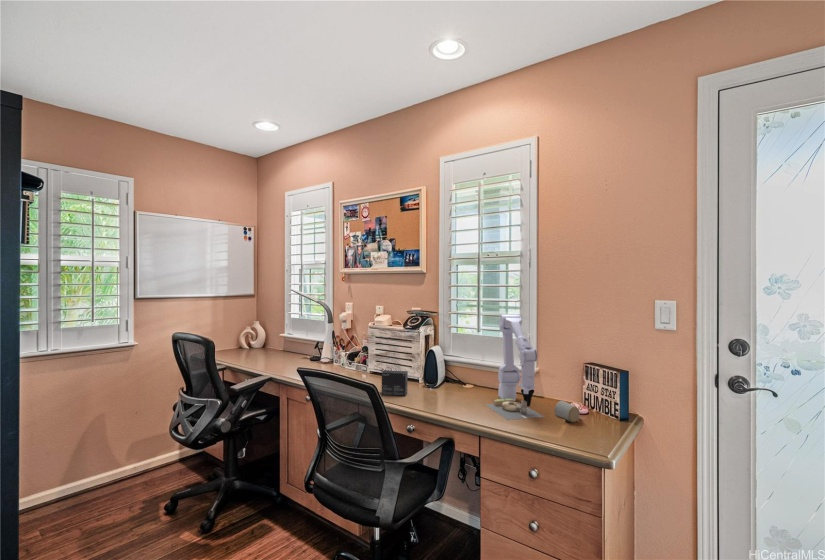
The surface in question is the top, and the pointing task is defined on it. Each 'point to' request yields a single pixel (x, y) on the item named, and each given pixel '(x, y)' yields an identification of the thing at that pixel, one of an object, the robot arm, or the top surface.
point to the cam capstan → (515, 406)
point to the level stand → (512, 414)
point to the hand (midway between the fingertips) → (527, 406)
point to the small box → (394, 383)
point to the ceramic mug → (567, 411)
